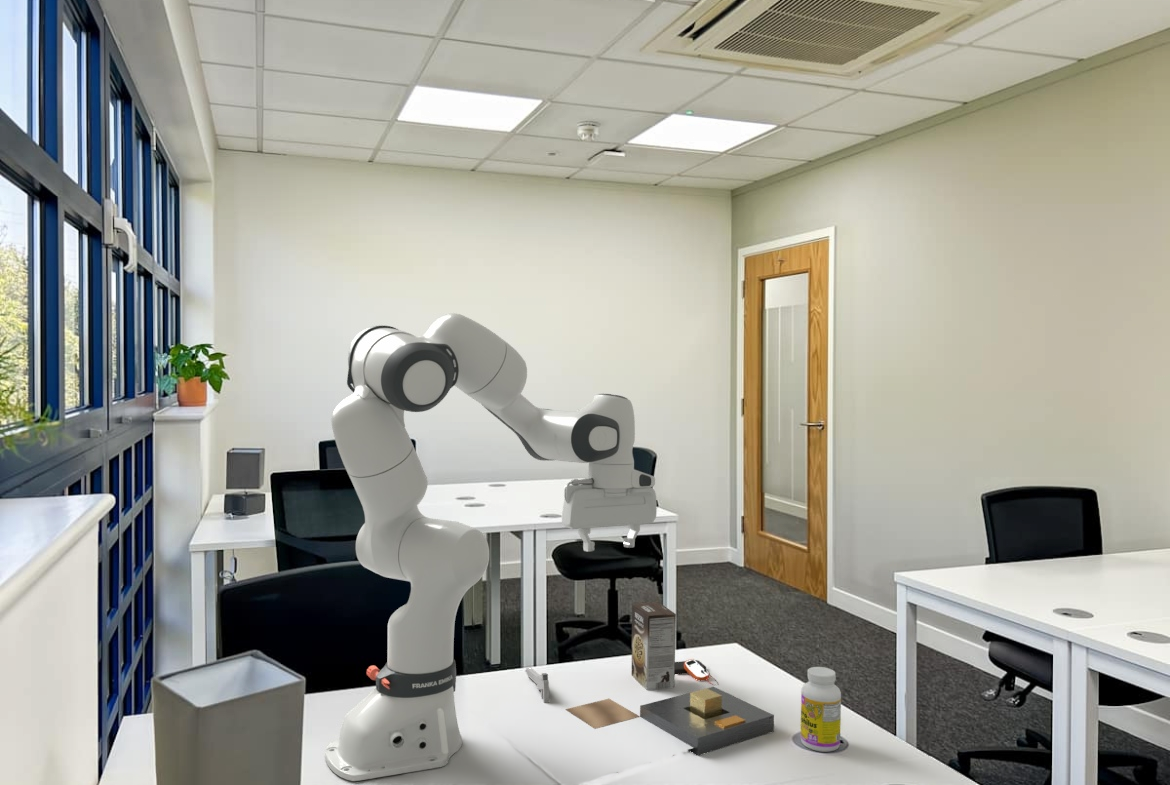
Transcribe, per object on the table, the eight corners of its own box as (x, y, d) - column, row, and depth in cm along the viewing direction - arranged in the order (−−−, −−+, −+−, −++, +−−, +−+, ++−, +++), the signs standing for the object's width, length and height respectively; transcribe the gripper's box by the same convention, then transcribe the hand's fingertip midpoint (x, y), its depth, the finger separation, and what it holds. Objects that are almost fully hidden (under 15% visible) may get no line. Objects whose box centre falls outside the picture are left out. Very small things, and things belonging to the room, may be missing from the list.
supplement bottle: (793, 738, 145) (794, 666, 144) (826, 734, 146) (828, 663, 146) (812, 755, 138) (814, 679, 138) (847, 751, 140) (849, 676, 140)
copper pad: (594, 734, 145) (594, 728, 145) (565, 714, 154) (565, 709, 154) (639, 721, 151) (640, 716, 151) (608, 703, 159) (608, 698, 159)
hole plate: (697, 755, 137) (697, 736, 137) (639, 721, 151) (640, 704, 151) (773, 731, 147) (774, 713, 147) (713, 701, 161) (713, 685, 161)
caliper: (549, 709, 157) (549, 676, 157) (543, 709, 157) (544, 676, 157) (529, 671, 177) (530, 642, 177) (524, 672, 177) (525, 643, 176)
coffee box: (629, 679, 172) (630, 603, 172) (658, 676, 174) (659, 601, 174) (646, 695, 163) (647, 615, 163) (675, 692, 165) (676, 612, 165)
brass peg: (704, 733, 146) (705, 700, 146) (689, 725, 150) (690, 692, 150) (721, 728, 149) (721, 695, 148) (706, 720, 152) (706, 688, 152)
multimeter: (748, 696, 165) (748, 679, 165) (691, 699, 163) (691, 682, 163) (718, 666, 183) (718, 651, 183) (666, 669, 180) (666, 653, 180)
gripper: (574, 481, 151) (572, 556, 151) (662, 477, 162) (660, 547, 162) (556, 477, 156) (554, 550, 156) (642, 474, 167) (641, 542, 167)
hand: (609, 549), depth 159 cm, fingers open, 8 cm apart
